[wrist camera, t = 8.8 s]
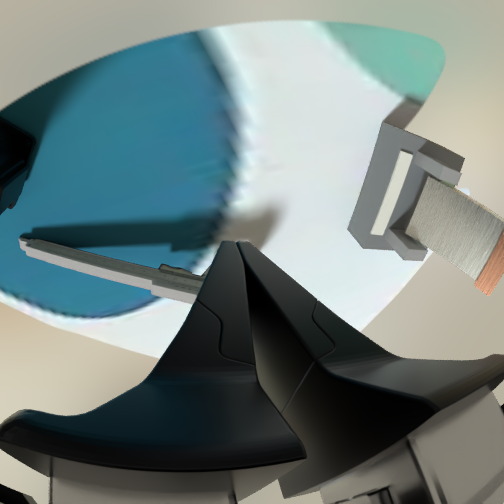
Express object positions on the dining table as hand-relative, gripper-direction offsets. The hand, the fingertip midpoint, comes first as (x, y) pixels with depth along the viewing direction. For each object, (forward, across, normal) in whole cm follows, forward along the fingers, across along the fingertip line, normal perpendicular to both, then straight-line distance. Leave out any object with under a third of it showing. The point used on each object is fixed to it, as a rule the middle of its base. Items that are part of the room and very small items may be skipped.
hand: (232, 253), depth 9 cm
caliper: (+12, +7, +9) cm, 17 cm away
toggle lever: (+8, -16, 0) cm, 18 cm away
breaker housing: (+12, -16, 0) cm, 20 cm away
